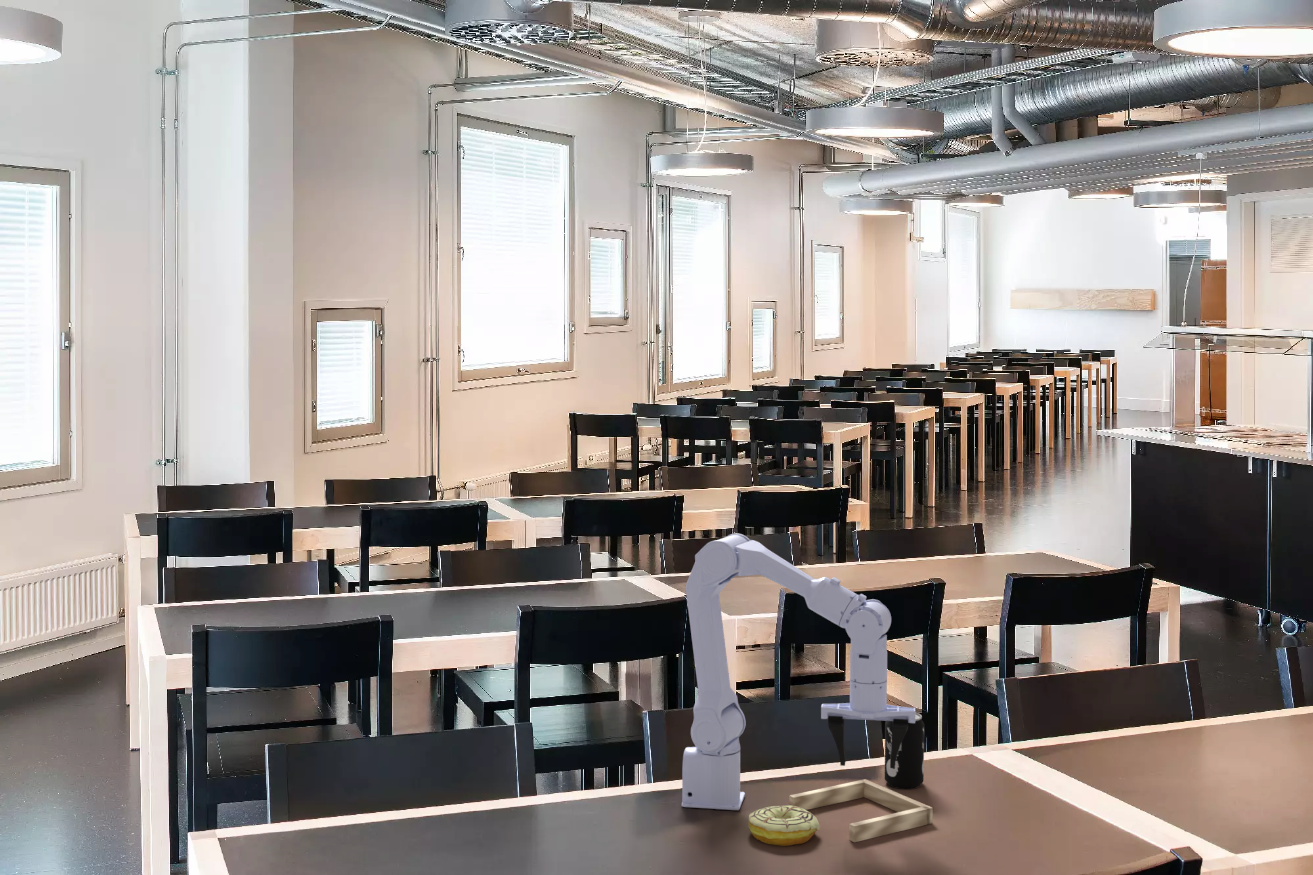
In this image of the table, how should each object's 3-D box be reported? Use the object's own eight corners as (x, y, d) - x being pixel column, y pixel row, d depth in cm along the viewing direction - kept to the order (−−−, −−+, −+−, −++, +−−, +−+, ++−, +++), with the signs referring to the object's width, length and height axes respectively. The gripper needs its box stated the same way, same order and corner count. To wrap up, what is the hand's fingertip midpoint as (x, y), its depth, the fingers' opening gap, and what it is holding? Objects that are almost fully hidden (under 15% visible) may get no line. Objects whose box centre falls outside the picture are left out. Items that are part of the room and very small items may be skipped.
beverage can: (923, 791, 231) (924, 721, 230) (883, 788, 232) (884, 719, 231) (923, 779, 237) (924, 711, 236) (885, 776, 238) (886, 709, 237)
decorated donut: (831, 835, 211) (832, 811, 211) (789, 854, 203) (789, 829, 203) (777, 819, 218) (778, 796, 218) (735, 837, 210) (735, 813, 210)
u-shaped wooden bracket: (854, 842, 207) (854, 826, 207) (789, 810, 221) (789, 795, 221) (932, 823, 215) (932, 807, 215) (864, 793, 229) (865, 779, 229)
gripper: (820, 684, 211) (819, 770, 212) (915, 687, 208) (914, 775, 209) (822, 673, 218) (822, 756, 219) (915, 676, 215) (914, 761, 216)
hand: (867, 765), depth 214 cm, fingers open, 7 cm apart
